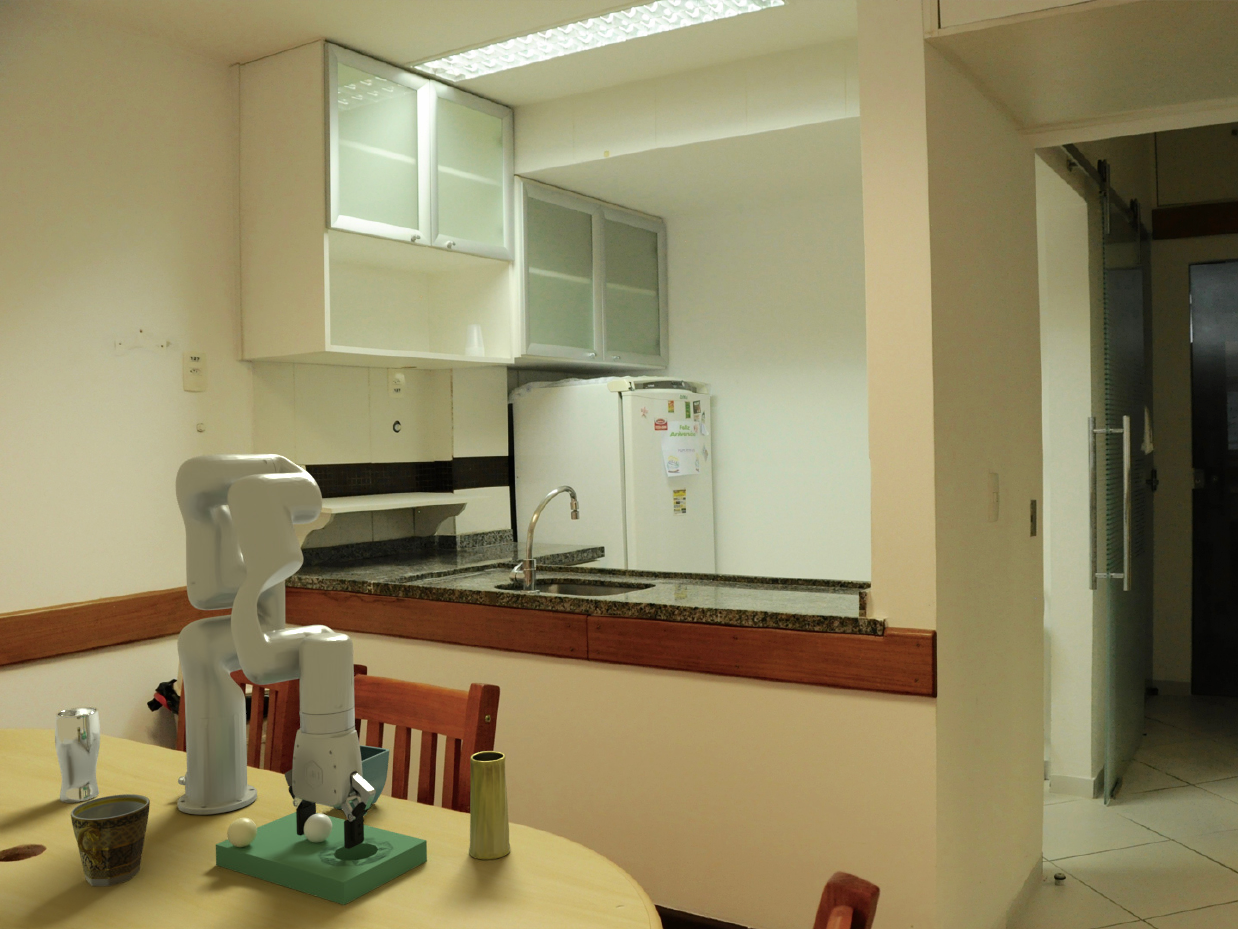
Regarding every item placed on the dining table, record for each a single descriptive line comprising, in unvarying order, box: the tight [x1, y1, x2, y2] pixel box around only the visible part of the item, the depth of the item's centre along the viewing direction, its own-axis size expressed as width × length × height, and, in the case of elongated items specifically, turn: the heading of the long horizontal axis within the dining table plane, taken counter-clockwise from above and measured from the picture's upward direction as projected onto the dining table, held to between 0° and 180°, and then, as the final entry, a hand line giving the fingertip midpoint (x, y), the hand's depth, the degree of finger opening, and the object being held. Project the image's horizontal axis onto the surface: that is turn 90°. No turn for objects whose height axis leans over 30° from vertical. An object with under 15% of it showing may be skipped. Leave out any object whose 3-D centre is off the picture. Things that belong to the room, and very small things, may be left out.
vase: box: [468, 750, 511, 861], centre depth 149 cm, size 6×6×14 cm
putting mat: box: [215, 811, 428, 906], centre depth 146 cm, size 26×16×3 cm, turn 59°
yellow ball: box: [226, 817, 258, 847], centre depth 145 cm, size 4×4×4 cm
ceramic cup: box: [70, 793, 151, 887], centre depth 141 cm, size 13×10×10 cm
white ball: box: [304, 812, 332, 843], centre depth 146 cm, size 4×4×4 cm
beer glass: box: [54, 706, 101, 804], centre depth 175 cm, size 7×7×15 cm
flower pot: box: [333, 744, 390, 811], centre depth 169 cm, size 9×9×9 cm
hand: (330, 838), depth 145 cm, fingers open, 9 cm apart
